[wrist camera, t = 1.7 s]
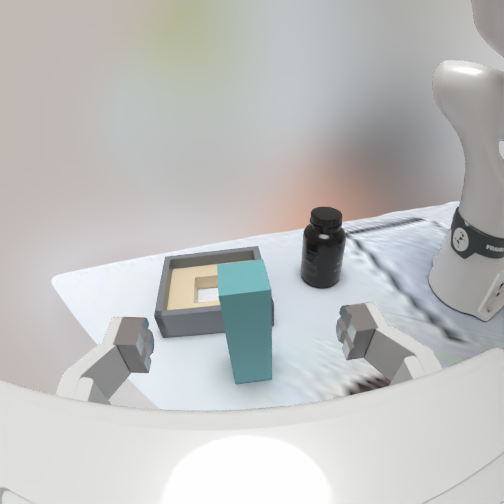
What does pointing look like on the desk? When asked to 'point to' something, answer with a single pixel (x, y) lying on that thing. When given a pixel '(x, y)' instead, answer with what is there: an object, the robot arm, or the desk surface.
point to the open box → (195, 292)
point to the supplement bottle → (323, 247)
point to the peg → (247, 318)
